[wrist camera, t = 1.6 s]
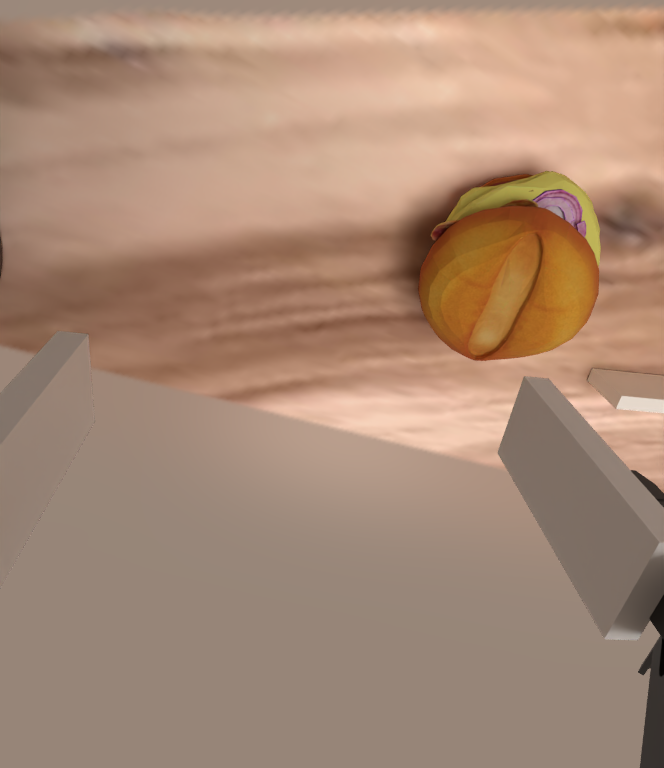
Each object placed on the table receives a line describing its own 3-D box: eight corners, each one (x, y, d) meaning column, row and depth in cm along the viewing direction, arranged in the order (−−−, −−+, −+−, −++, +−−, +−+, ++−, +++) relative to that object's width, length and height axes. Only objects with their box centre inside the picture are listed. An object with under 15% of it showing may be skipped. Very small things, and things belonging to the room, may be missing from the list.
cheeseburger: (601, 289, 36) (649, 371, 28) (443, 330, 40) (445, 413, 32) (579, 135, 31) (629, 179, 23) (401, 197, 35) (391, 254, 27)
